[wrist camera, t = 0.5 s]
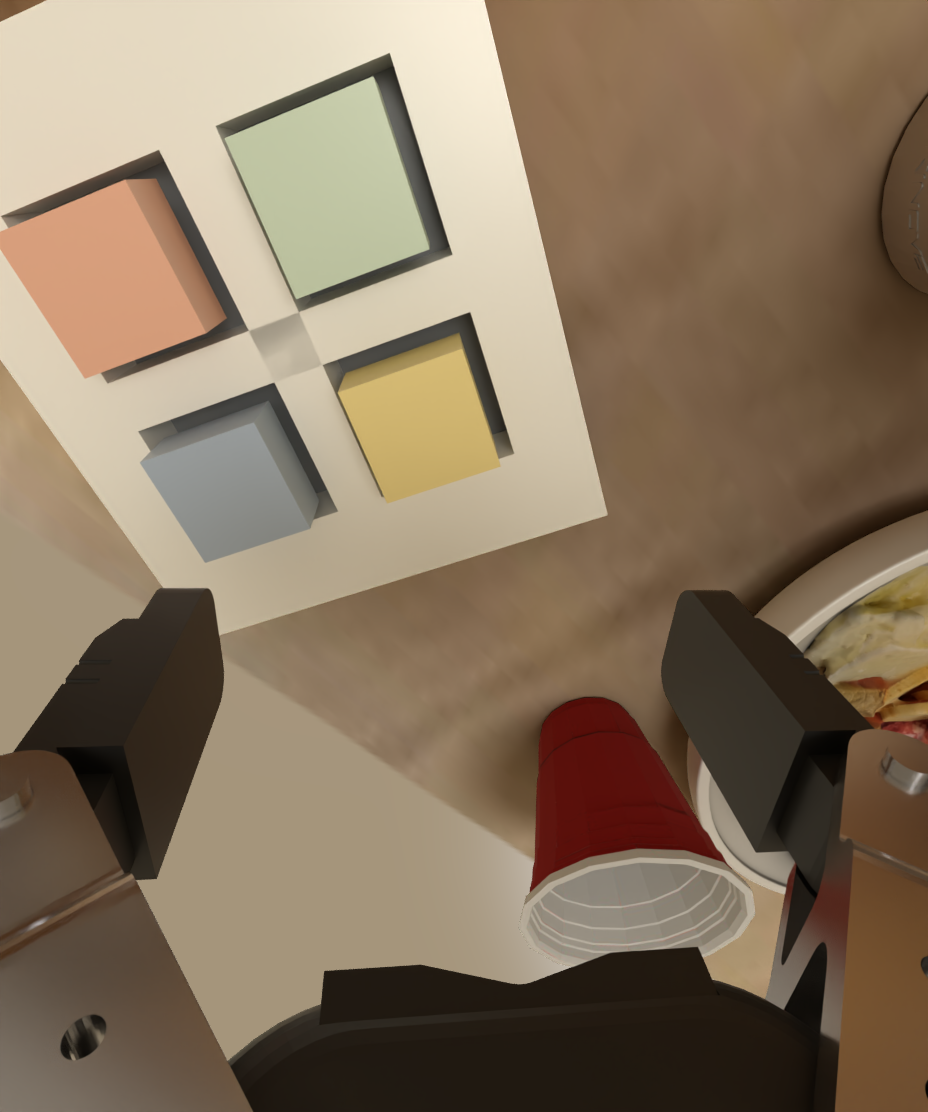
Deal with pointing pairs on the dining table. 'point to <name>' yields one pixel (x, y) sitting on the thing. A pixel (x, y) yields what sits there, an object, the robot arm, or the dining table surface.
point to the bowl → (843, 661)
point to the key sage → (331, 188)
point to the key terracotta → (113, 275)
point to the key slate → (233, 482)
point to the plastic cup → (620, 848)
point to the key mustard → (420, 419)
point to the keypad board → (265, 294)
